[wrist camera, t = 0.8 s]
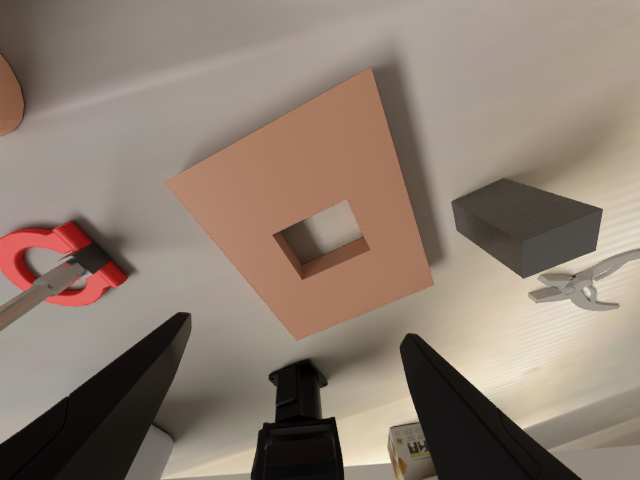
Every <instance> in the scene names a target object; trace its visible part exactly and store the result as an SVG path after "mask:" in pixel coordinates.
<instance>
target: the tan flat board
mask: <svg viewBox="0 0 640 480" xmlns="http://www.w3.org/2000/svg"><path fill="white" fill-rule="evenodd" d="M164 183H165V184H166V185H167V186H168V187H169V189H170V190H171V191H172V192H173V193H174V195H175V196H176V197H177V198H178V199H179V201H180V202H181V203H182V204H183V205H184V207H185V208H186V209H187V210H188V211H189V213H190V214H191V215H192V216H193V217H194V219H195V220H196V221H197V222H198V223H199V225H200V226H201V227H202V228H203V229H204V230H205V232H206V233H207V234H208V235H209V236H210V238H211V239H212V240H213V241H214V242H215V244H216V245H217V246H218V247H219V248H220V250H221V251H222V252H223V253H224V254H225V256H226V257H227V258H228V259H229V260H230V262H231V263H232V264H233V265H234V266H235V268H236V269H237V270H238V271H239V272H240V273H241V275H242V276H243V277H244V278H245V279H246V281H247V282H248V283H249V284H250V285H251V287H252V288H253V289H254V290H255V291H256V293H257V294H258V295H259V296H260V297H261V299H262V300H263V301H264V302H265V303H266V305H267V306H268V307H269V308H270V309H271V311H272V312H273V313H274V314H275V315H276V316H277V318H278V319H279V320H280V321H281V322H282V324H283V325H284V326H285V327H286V328H287V330H288V331H289V332H290V333H291V334H292V336H293V337H294V338H295V339H296V340H300V339H302V338H304V337H307V336H309V335H312V334H314V333H317V332H319V331H322V330H324V329H327V328H329V327H332V326H334V325H336V324H339V323H341V322H344V321H346V320H349V319H351V318H354V317H356V316H359V315H361V314H363V313H366V312H368V311H371V310H373V309H376V308H378V307H381V306H383V305H386V304H388V303H390V302H393V301H395V300H398V299H400V298H403V297H405V296H408V295H410V294H413V293H415V292H418V291H420V290H422V289H425V288H427V287H430V286H432V285H434V283H433V279H432V276H431V273H430V269H429V266H428V262H427V259H426V255H425V252H424V248H423V245H422V241H421V238H420V234H419V231H418V228H417V224H416V221H415V217H414V214H413V210H412V207H411V203H410V200H409V196H408V193H407V189H406V186H405V183H404V179H403V176H402V172H401V169H400V165H399V162H398V158H397V155H396V151H395V148H394V144H393V141H392V138H391V134H390V131H389V127H388V124H387V120H386V117H385V113H384V110H383V106H382V103H381V99H380V96H379V93H378V89H377V86H376V82H375V79H374V75H373V72H372V68H371V67H370V68H368V69H366V70H364V71H363V72H361V73H359V74H357V75H355V76H354V77H352V78H350V79H348V80H346V81H345V82H343V83H341V84H339V85H337V86H336V87H334V88H332V89H330V90H329V91H327V92H325V93H323V94H321V95H320V96H318V97H316V98H314V99H312V100H311V101H309V102H307V103H305V104H303V105H302V106H300V107H298V108H296V109H294V110H293V111H291V112H289V113H287V114H285V115H284V116H282V117H280V118H278V119H277V120H275V121H273V122H271V123H269V124H268V125H266V126H264V127H262V128H260V129H259V130H257V131H255V132H253V133H251V134H250V135H248V136H246V137H244V138H242V139H241V140H239V141H237V142H235V143H233V144H232V145H230V146H228V147H226V148H225V149H223V150H221V151H219V152H217V153H216V154H214V155H212V156H210V157H208V158H207V159H205V160H203V161H201V162H199V163H198V164H196V165H194V166H192V167H190V168H189V169H187V170H185V171H183V172H182V173H180V174H178V175H176V176H174V177H173V178H171V179H169V180H167V181H165V182H164ZM345 199H347V200H348V203H349V205H350V207H351V209H352V212H353V214H354V216H355V219H356V221H357V223H358V225H359V228H360V230H361V232H362V235H363V238H360V239H358V240H356V241H354V242H352V243H349V244H347V245H345V246H343V247H341V248H338V249H336V250H334V251H332V252H330V253H327V254H325V255H323V256H321V257H319V258H316V259H314V260H312V261H310V262H308V263H305V264H303V265H301V263H300V262H299V260H298V259H297V257H296V256H295V254H294V252H293V251H292V249H291V248H290V246H289V245H288V243H287V242H286V240H285V238H284V237H283V235H282V234H281V232H280V231H281V230H283V229H285V228H287V227H289V226H291V225H293V224H296V223H298V222H300V221H302V220H304V219H306V218H308V217H310V216H312V215H314V214H316V213H318V212H320V211H322V210H325V209H327V208H329V207H331V206H333V205H335V204H337V203H339V202H341V201H343V200H345Z"/></svg>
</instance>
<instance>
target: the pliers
mask: <svg viewBox="0 0 640 480" xmlns="http://www.w3.org/2000/svg"><path fill="white" fill-rule="evenodd" d="M639 258H640V249H638V250H633V251H629V252H625V253H622V254H618V255H616V256H613V257H610V258H608V259H606V260H603V261H601V262H599V263H598V264H596V265H594V266H593V267H591V268H589V269H587V270H584V271H582V272H580V273H576V277H575V278H574V277H571V276H567V275H539V277H538V278H537V279H538V280H539V281H541V282H542V283H544V284H545V285H550V286H554V287H550V288H546V289H542V290H538V291H534V292H530V293H528V297H529V298H530V299H532V300H533V301H534V302H535V303H542V302H552V301H561V300H565V299H569V298H570V300H571V301H572V303H574V304H575V305H577V306H578V307H580V308H583V309H586V310H592V311H605V310H612V309H618V308H619V307H620V306H619V305H618V304H604V303H597V302H595V300H596V292H595V291H594V289H592V288H591V287H589V286H587V285H591V284H593V282H592V278H593V277H594V276H596V275H598V274H600V273H602V272H604V271H606V270H607V269H609V268H610V269H609V270H608V271H606V272H605V273H603V274H601V275H599V276H597V277H594V278H593V280H595V281H598V280H600V279H602V278H604V277H606V276H608V275H610V274H612V273H613V272H615V271H616V270H618V269H619V268H620V267H621V266H622V265H624V264H625V263H627V262H628V261H631V260H635V259H639ZM611 267H612V268H611ZM585 286H587V288H588V289H589V290H590V292H591V296H590V298H589V300H587V299H586V297H585V296H584V294H583V292H582V291H581V290H582V289H583V288H584V287H585Z"/></svg>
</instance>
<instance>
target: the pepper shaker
mask: <svg viewBox="0 0 640 480" xmlns="http://www.w3.org/2000/svg"><path fill="white" fill-rule="evenodd" d="M23 110H24V101H23V97H22V92H21V88H20V85H19V83H18V81H17V79H16V77H15V75H14V73H13V71H12V70H11V68H10V66H9V64H8V63H7V61H6V60H5V59H4V58H3V56H2V55H1V54H0V136H2V135H5V134H7V133H10V132H12V131H14V130H15V128H16V127H17V126H18V124H19V123H20V122H21V121H22V117H23Z"/></svg>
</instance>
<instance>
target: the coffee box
mask: <svg viewBox="0 0 640 480" xmlns="http://www.w3.org/2000/svg"><path fill="white" fill-rule="evenodd" d="M388 452H389V455H390V459H391V463H392V467H393V470H394V473H395V478H396V480H438V477H437V474H436V471H435V468H434V465H433V462H432V459H431V456H430V452H429V449H428V446H427V443H426V440H425V437H424V434H423V431H422V428H421V425H420V423H416V424H411V425H405V426H399V427H392V428H390V430H389V439H388Z"/></svg>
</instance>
